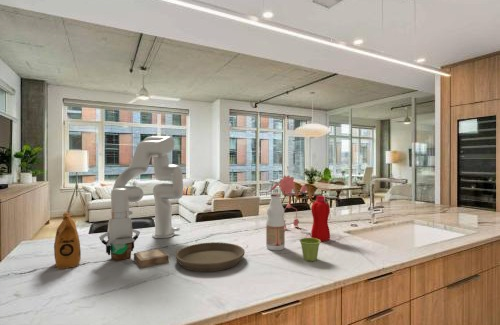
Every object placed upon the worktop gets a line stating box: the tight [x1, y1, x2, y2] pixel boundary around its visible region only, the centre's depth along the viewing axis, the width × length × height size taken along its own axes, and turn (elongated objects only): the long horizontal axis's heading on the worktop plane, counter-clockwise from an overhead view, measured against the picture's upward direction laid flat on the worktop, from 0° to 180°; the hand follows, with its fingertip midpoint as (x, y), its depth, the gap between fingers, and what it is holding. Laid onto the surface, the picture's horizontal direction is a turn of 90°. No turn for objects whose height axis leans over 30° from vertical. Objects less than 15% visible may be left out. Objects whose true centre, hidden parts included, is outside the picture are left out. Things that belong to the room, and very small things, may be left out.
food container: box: [110, 236, 133, 262], centre depth 133 cm, size 12×6×10 cm, turn 68°
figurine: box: [269, 175, 308, 231], centre depth 196 cm, size 15×26×35 cm, turn 113°
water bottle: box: [310, 195, 331, 243], centre depth 165 cm, size 9×11×25 cm
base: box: [133, 248, 170, 269], centre depth 131 cm, size 12×12×3 cm
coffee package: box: [53, 212, 82, 270], centre depth 127 cm, size 10×12×22 cm
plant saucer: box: [174, 242, 245, 273], centre depth 132 cm, size 31×31×5 cm
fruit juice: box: [265, 192, 286, 251], centre depth 150 cm, size 9×9×28 cm
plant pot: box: [299, 237, 321, 262], centre depth 133 cm, size 9×9×9 cm
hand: (120, 252), depth 134 cm, fingers open, 9 cm apart
